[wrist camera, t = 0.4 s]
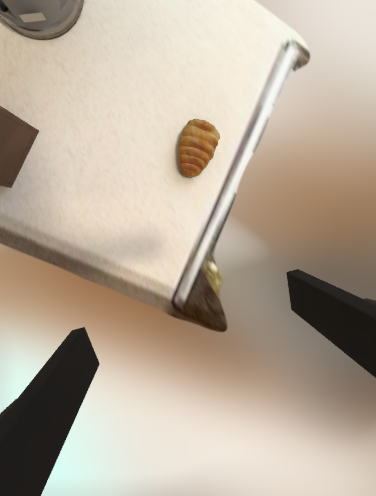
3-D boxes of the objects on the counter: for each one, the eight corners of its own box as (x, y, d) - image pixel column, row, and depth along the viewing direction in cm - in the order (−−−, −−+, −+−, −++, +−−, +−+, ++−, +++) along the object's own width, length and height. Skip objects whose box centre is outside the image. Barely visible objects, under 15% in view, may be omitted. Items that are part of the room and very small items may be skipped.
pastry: (203, 183, 37) (206, 179, 33) (170, 171, 36) (169, 165, 32) (220, 135, 36) (225, 125, 32) (186, 121, 35) (187, 109, 31)
